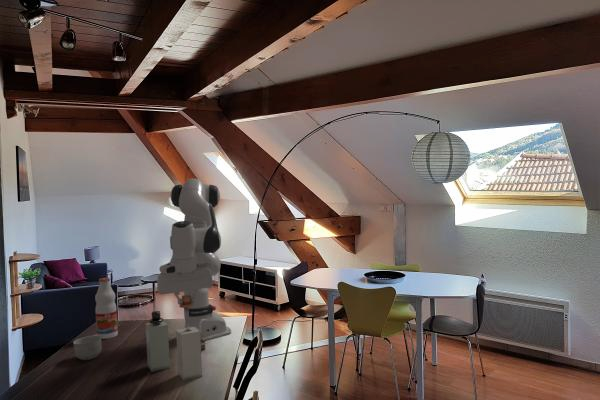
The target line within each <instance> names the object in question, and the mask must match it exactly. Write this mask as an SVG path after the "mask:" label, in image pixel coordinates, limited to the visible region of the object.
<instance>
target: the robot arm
mask: <svg viewBox="0 0 600 400" xmlns="http://www.w3.org/2000/svg"><path fill="white" fill-rule="evenodd" d="M169 197H170V200H171V201H170V202H171V204H172V205H173V206H174V207H176V208H179V210H180V211H181V213H182V214H183V215H184V217H183V218H184V220H181V221H176V222H174V223H173V224H172V225H171V231H170V232H171V233H170V234H171V235H170V237H169V242H170V249H171V251H172V255H171V258H170V261H169V262H168V263H165V264H162V265H160V266H159V274H158V275H157V283H156V284H157V285H156V290H157V293H159V295H167V294H168V295H169V294H173V295H174V297H175V298H176V299H177V305H179V304H183V302H182V301H183V299H182V297H180V296H179V295H180V293H181V292H183V295H191V302H193V303H194V306H192V307H188V309H189V328H190V327H195V328H197V329H198V330H199V331H200V333H203V339H205V341H209V340H212V339H216V338H220V337H223V336H227V335H230V334H232V329H231V327H229V326H227V323H226V321H225V319H224V317H222V316H221V315H219V314H217V313H216V312H215V311H216V310H217V306H215V305H212V304H210V303H209V301H210V300H209V298H210V297H209V289H210V288H212V287H213V285H214V280H213V276H216V275H218V273H219V272H220V270H221V260H220V258H219V257H218V256H217V255H216V254H215V253H216V252H217V251H218V250H219V249H220V248H221V245H222V237H221V233H220V231H219V228H218V223H217V218H216V214H215V210H214V209H215V207H217V205H219V202H220V200H221V193H220V190H219V188H218V186H217V185H214V184H204V182H203V181H202V180H201V179H198V178H193V177H192V178H189V179H187V180H185V182H184V183H183V184H182V183H180V184H177V185H176V184H175V185H174V186H172V188H171V191H170V195H169ZM183 318H184V319H185V320H184V328H186V316H185V308H183Z"/></svg>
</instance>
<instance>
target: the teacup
mask: <svg viewBox="0 0 600 400" xmlns="http://www.w3.org/2000/svg"><path fill="white" fill-rule="evenodd" d="M72 344H73V349H74V350H73V351H74V355H75V357H76V358H77V359H79V360H82V361H88V360H89V361H90V360H93V359H95V358H96V357H98V356H99V355H100V354H101V352H102V347H103V346H102V339H101V337H100V336H97V334H92V335H87V336H84V337H80V338H77V339H75V340H73V342H72Z"/></svg>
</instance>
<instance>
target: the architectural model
mask: <svg viewBox="0 0 600 400" xmlns="http://www.w3.org/2000/svg"><path fill="white" fill-rule="evenodd" d="M200 342H201V350H206V345H207V343H206V340H205V339H203V333H200Z"/></svg>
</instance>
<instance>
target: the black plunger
mask: <svg viewBox="0 0 600 400" xmlns="http://www.w3.org/2000/svg"><path fill="white" fill-rule="evenodd" d="M163 321H164V318H163V317H161V311H160V310H155V311H151V319H149V322H148V323H151V324H155V325H158V323H161V322H163Z"/></svg>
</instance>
